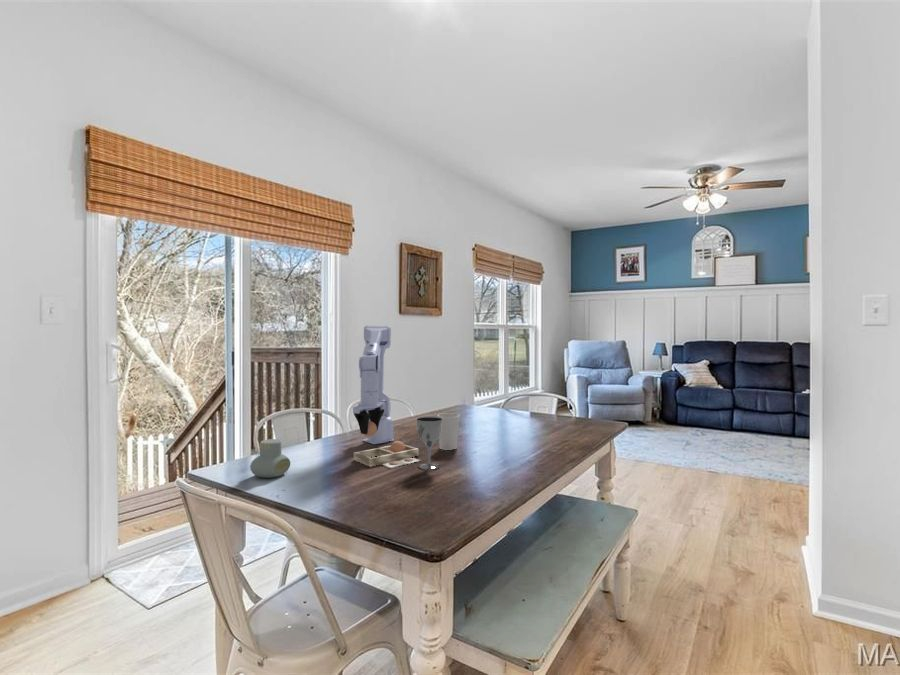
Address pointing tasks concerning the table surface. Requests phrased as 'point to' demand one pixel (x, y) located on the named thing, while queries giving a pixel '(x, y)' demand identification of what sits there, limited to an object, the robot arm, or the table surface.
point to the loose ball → (371, 429)
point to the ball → (397, 447)
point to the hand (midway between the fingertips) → (369, 432)
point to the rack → (387, 457)
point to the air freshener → (270, 460)
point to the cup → (449, 431)
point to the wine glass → (429, 435)
